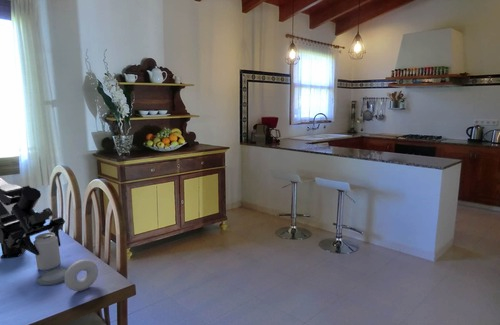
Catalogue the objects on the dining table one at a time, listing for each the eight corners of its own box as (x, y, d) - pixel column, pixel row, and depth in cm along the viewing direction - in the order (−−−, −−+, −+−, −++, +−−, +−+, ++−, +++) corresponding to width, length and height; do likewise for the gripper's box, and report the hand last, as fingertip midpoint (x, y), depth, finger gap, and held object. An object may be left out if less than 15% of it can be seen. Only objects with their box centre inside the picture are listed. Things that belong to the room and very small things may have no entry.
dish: (32, 287, 111) (32, 284, 111) (44, 271, 121) (44, 269, 121) (65, 283, 113) (65, 280, 113) (75, 269, 123) (75, 266, 122)
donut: (68, 298, 105) (64, 268, 103) (64, 293, 107) (60, 264, 105) (101, 285, 112) (98, 256, 110) (97, 281, 114) (94, 253, 112)
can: (50, 272, 120) (45, 240, 118) (32, 270, 122) (27, 238, 120) (65, 262, 128) (61, 232, 125) (48, 260, 129) (44, 230, 127)
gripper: (5, 211, 114) (29, 248, 111) (59, 196, 130) (81, 228, 127) (-4, 229, 119) (19, 266, 116) (48, 213, 135) (70, 244, 132)
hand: (49, 250), depth 123 cm, fingers closed on can, 7 cm apart
